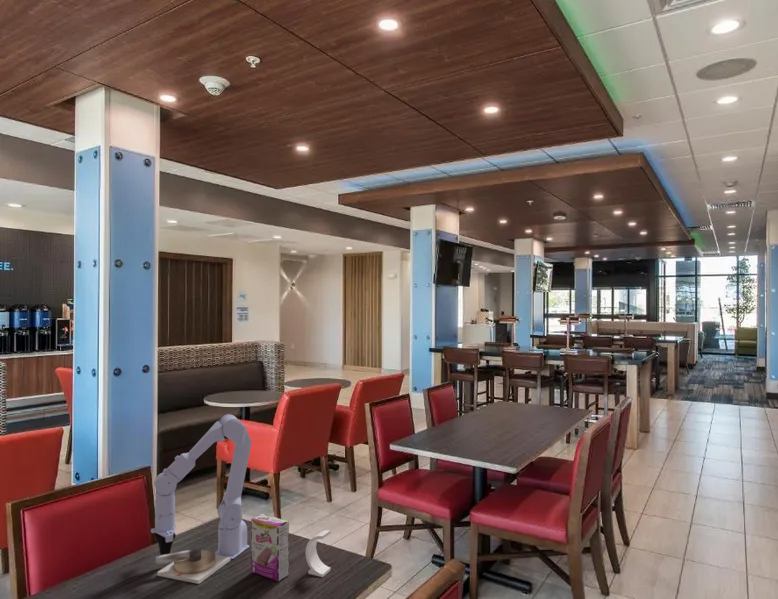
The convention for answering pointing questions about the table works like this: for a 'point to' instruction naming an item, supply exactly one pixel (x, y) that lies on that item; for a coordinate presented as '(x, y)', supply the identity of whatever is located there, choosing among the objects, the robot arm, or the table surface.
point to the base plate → (193, 577)
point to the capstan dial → (189, 560)
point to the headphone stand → (316, 556)
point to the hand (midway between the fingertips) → (165, 557)
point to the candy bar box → (270, 547)
